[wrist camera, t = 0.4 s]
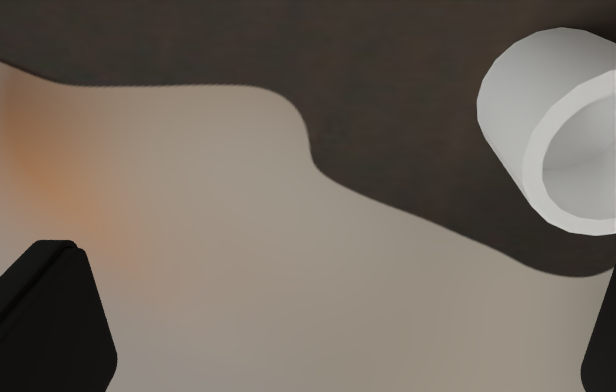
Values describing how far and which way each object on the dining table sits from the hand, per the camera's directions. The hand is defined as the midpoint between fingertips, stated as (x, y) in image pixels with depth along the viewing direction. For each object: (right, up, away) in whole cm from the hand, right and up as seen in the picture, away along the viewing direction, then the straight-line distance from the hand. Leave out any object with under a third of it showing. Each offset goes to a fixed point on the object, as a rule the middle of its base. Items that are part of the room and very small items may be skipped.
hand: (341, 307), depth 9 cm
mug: (+18, +9, +27) cm, 34 cm away
